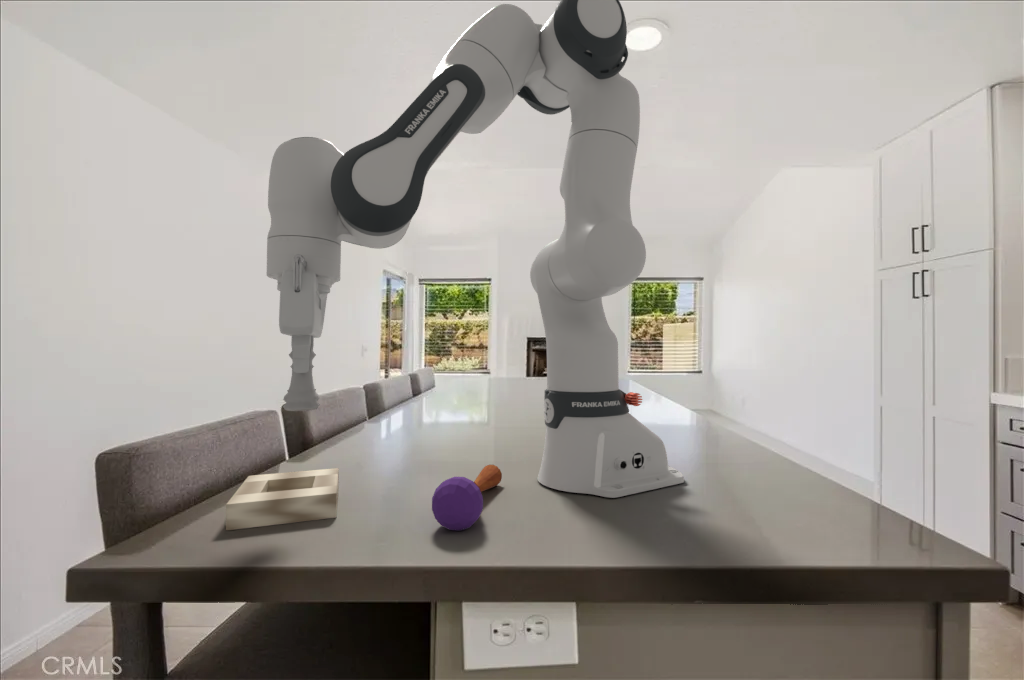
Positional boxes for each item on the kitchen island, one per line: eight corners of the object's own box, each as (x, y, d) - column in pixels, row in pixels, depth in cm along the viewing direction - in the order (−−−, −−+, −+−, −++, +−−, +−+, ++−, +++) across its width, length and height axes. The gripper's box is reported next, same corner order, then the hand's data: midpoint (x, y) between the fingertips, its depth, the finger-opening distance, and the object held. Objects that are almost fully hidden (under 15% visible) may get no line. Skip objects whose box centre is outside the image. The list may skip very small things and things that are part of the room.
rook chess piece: (304, 412, 59) (306, 347, 59) (274, 410, 60) (275, 347, 60) (327, 407, 63) (328, 347, 63) (298, 406, 64) (299, 347, 64)
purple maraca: (513, 460, 72) (480, 489, 52) (506, 500, 71) (469, 543, 52) (476, 451, 73) (429, 476, 53) (468, 490, 73) (419, 529, 53)
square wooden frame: (338, 488, 71) (338, 468, 71) (336, 517, 59) (336, 493, 59) (248, 496, 67) (248, 475, 67) (226, 530, 55) (226, 504, 55)
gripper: (328, 252, 53) (326, 376, 53) (332, 278, 72) (330, 368, 72) (265, 248, 51) (262, 376, 51) (286, 275, 70) (284, 368, 70)
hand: (302, 372), depth 62 cm, fingers closed on rook chess piece, 3 cm apart
